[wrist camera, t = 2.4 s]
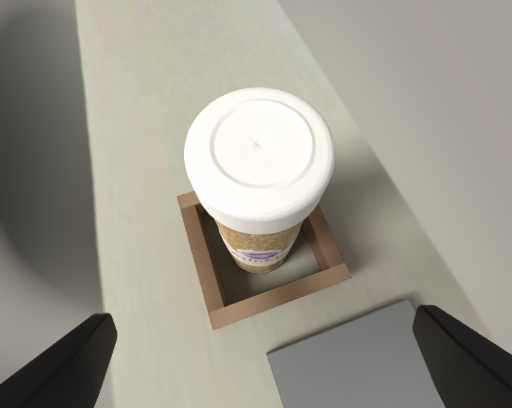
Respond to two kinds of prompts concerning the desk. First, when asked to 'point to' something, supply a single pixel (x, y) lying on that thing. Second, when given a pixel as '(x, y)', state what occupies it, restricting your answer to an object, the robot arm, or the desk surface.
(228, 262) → the desk surface
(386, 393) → the pad
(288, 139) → the sprinkles bottle
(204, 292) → the collar
